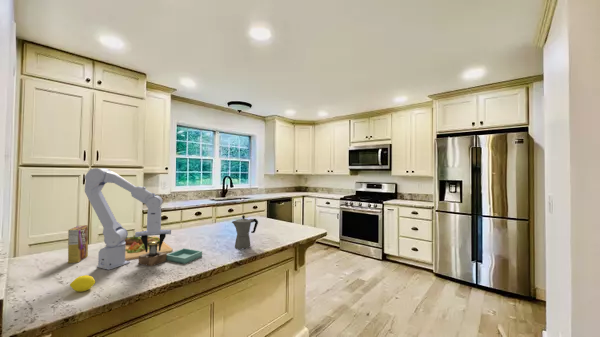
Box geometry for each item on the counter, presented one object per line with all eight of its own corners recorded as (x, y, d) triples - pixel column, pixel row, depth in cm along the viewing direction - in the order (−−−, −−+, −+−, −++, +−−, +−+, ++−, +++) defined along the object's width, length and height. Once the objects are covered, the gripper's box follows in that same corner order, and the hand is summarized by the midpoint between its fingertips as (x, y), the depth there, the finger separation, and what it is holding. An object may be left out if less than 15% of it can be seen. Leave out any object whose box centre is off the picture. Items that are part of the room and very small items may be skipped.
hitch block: (151, 266, 115) (151, 258, 115) (138, 263, 118) (138, 255, 118) (166, 260, 123) (166, 253, 123) (153, 258, 125) (154, 250, 125)
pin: (152, 263, 117) (152, 244, 117) (144, 262, 119) (145, 242, 119) (161, 260, 122) (161, 241, 122) (153, 259, 123) (154, 240, 123)
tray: (184, 263, 119) (184, 258, 119) (165, 260, 123) (165, 254, 123) (202, 256, 130) (202, 251, 130) (184, 253, 134) (184, 248, 134)
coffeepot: (233, 250, 141) (234, 217, 141) (229, 245, 149) (230, 214, 149) (260, 247, 148) (260, 215, 148) (254, 242, 156) (255, 213, 156)
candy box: (77, 256, 124) (78, 225, 124) (88, 256, 125) (89, 224, 125) (66, 263, 115) (67, 229, 115) (78, 262, 117) (79, 229, 117)
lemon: (93, 287, 95) (96, 272, 96) (93, 292, 91) (97, 277, 92) (68, 289, 91) (72, 274, 92) (67, 295, 87) (71, 279, 87)
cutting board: (173, 253, 135) (174, 238, 135) (120, 263, 120) (120, 246, 120) (156, 238, 161) (156, 226, 161) (110, 245, 145) (110, 231, 146)
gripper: (134, 224, 113) (133, 255, 113) (171, 222, 120) (170, 251, 120) (136, 221, 120) (135, 250, 120) (171, 219, 126) (170, 247, 126)
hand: (153, 250), depth 120 cm, fingers closed on pin, 5 cm apart
